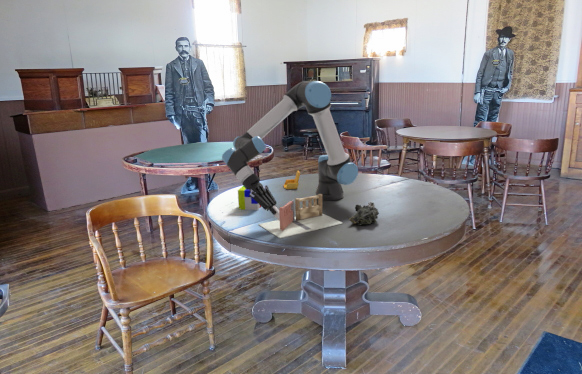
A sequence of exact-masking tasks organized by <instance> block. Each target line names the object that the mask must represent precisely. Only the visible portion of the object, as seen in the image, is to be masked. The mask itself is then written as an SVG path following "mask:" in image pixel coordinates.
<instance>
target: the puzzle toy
mask: <svg viewBox="0 0 582 374" xmlns="http://www.w3.org/2000/svg"><path fill="white" fill-rule="evenodd" d="M250 193H251V192H250V190H247V189H246V188H245V187H244V186H243V185H242V186H241V187H240V188H239V189H238V190H237V199H238V210H240V211H241V210H245V211H250V210H251V211H259V210H260V209H259V208H262V206H260V205H259V204H258V203H257V202H256V201H255V200H254V199H253V198H251V197H250V196H249V194H250Z"/></svg>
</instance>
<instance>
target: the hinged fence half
mask: <svg viewBox="0 0 582 374" xmlns="http://www.w3.org/2000/svg"><path fill="white" fill-rule="evenodd" d="M278 209H279V215H280V230H284V229H285V227H287V226H288V225H289V224H290V223H291V222H292V221H293V220H295V216H296V213H295V199H291V200H290V201H288V202H287V203H286V204H285V205H283V206H280V207H279V208H278Z"/></svg>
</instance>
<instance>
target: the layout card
mask: <svg viewBox="0 0 582 374" xmlns="http://www.w3.org/2000/svg"><path fill="white" fill-rule="evenodd" d="M343 224H344V223H343V222H342V221H340V220H337V219H335V218H333V217H331V216H329V215H327V214H325V213H322V215H319V216H315V217H310V218H305V219H301V220H296V215H295V220H293V221H292V222H291V223H290V224H289V225H288V226H287V227H285V229H284V230H280V221H278V220H277V219H276V220H272V221H267V222H261V223H259V224H258V226H260V227H261V228H262V229H265V231H267V232H269V233H270V234H272V235H274V236H275V237H277V238H278V239H283V238H287V237H292V236H297V235H301V234H305V233H309V232H313V231H317V230H321V229H326V228H330V227H335V226H339V225H343Z"/></svg>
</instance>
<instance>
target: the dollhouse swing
mask: <svg viewBox="0 0 582 374" xmlns="http://www.w3.org/2000/svg"><path fill="white" fill-rule="evenodd" d="M300 176H301V172H300V170H297V171H296V172H295V177H294V179H285V182H284V184H283V189H284V188H285V190H295V189H298V187H299V179H300Z"/></svg>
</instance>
